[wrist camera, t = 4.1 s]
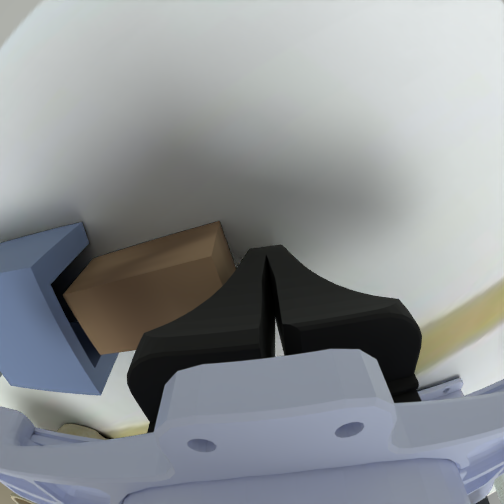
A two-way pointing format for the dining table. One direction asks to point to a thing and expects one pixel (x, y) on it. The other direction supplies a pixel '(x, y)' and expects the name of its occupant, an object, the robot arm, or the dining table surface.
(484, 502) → the small box
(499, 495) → the skincare box
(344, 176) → the dining table surface
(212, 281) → the walnut peg
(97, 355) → the socket block
